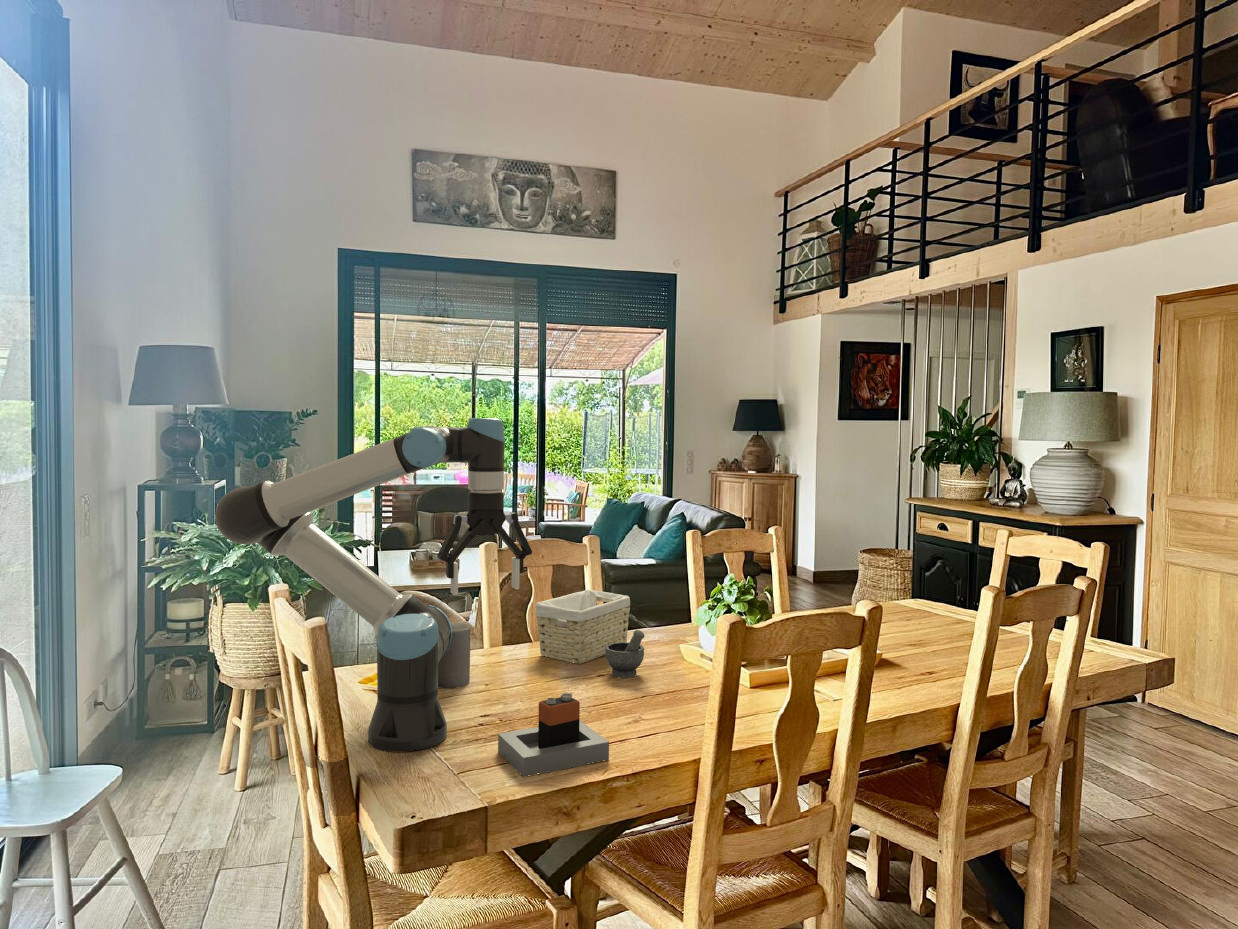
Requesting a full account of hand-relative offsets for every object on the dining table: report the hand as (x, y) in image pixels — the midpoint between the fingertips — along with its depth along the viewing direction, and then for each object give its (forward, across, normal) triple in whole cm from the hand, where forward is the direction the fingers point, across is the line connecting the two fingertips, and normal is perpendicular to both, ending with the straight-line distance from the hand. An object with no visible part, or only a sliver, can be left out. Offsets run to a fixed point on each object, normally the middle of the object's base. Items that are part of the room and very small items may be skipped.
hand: (485, 591), depth 181 cm
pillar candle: (+27, 0, -25) cm, 37 cm away
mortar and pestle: (+27, -41, -12) cm, 50 cm away
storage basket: (+27, -41, -36) cm, 61 cm away
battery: (+25, -5, +28) cm, 38 cm away
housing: (+27, -4, +27) cm, 38 cm away
